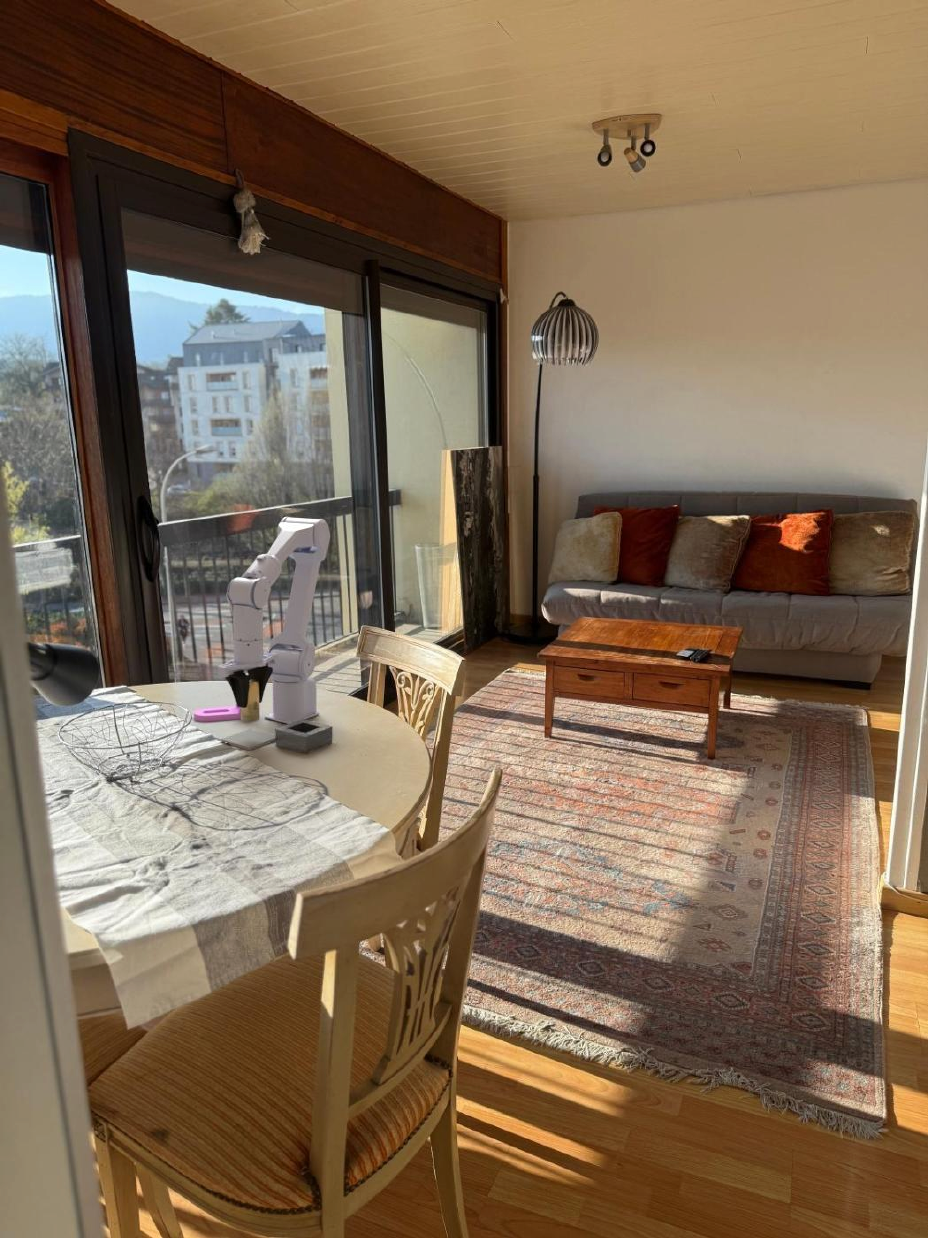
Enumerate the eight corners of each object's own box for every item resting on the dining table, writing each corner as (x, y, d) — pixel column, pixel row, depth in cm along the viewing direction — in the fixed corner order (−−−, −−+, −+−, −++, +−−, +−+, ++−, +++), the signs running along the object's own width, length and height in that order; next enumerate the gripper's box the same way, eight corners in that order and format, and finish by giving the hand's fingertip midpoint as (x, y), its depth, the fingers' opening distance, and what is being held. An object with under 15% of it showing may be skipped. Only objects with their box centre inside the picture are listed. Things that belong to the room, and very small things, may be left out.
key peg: (249, 715, 177) (248, 677, 176) (263, 718, 176) (262, 680, 174) (237, 719, 174) (236, 681, 173) (251, 722, 173) (250, 684, 171)
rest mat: (250, 731, 182) (250, 728, 181) (278, 739, 177) (278, 736, 177) (220, 742, 175) (220, 739, 175) (249, 750, 171) (249, 747, 171)
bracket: (253, 710, 196) (253, 680, 195) (257, 718, 191) (256, 687, 190) (193, 715, 191) (192, 684, 190) (195, 723, 186) (194, 691, 185)
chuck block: (302, 735, 181) (302, 718, 180) (332, 742, 177) (332, 726, 176) (275, 745, 174) (275, 728, 173) (305, 754, 170) (305, 737, 169)
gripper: (235, 647, 164) (236, 716, 166) (288, 635, 176) (289, 699, 179) (209, 642, 167) (210, 710, 170) (263, 630, 180) (264, 693, 182)
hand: (249, 704), depth 175 cm, fingers closed on key peg, 4 cm apart
